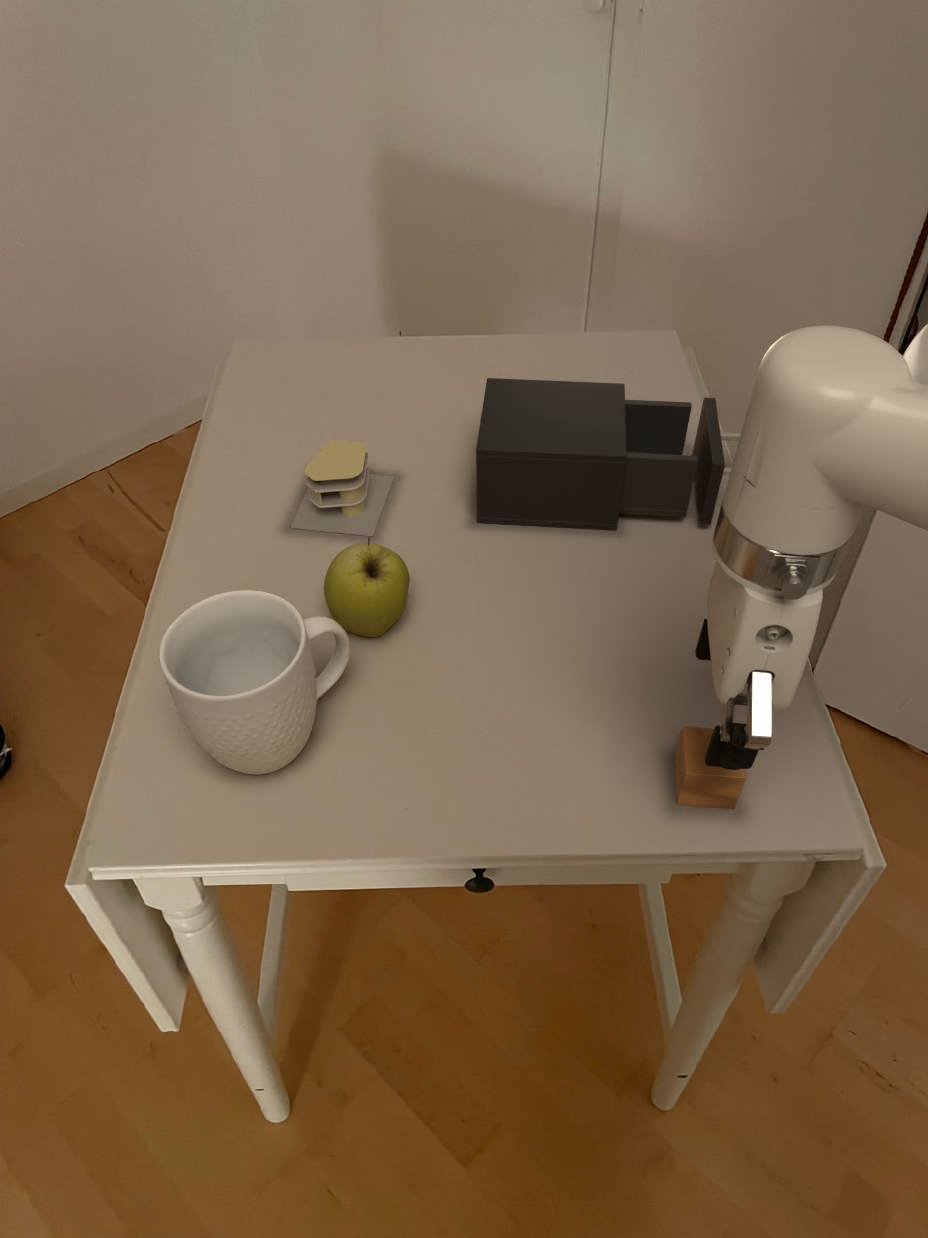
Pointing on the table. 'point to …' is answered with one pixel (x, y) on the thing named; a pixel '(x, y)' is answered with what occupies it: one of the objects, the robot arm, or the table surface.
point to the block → (703, 773)
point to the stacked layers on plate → (342, 491)
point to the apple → (366, 588)
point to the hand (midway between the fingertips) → (721, 708)
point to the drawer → (672, 459)
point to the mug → (248, 676)
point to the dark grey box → (551, 453)
